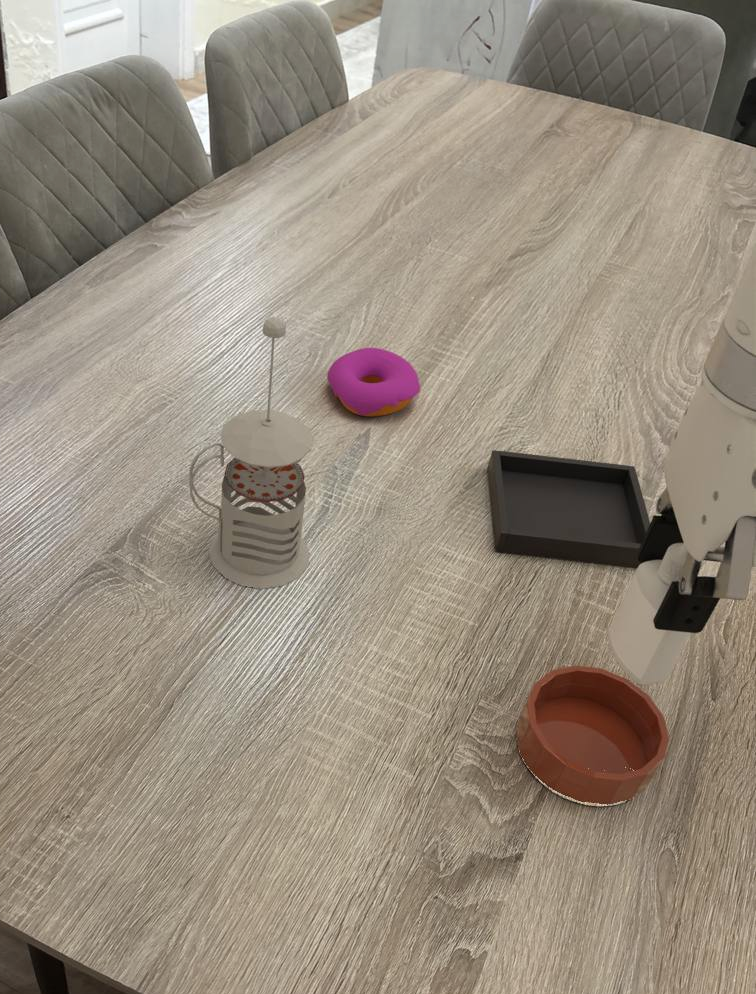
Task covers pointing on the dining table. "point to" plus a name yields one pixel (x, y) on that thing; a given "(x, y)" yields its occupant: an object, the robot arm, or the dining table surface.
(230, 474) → the french press
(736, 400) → the robot arm
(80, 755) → the dining table surface
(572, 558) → the tray
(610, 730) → the bowl
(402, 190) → the dining table surface
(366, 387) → the donut
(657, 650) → the eye dropper bottle
